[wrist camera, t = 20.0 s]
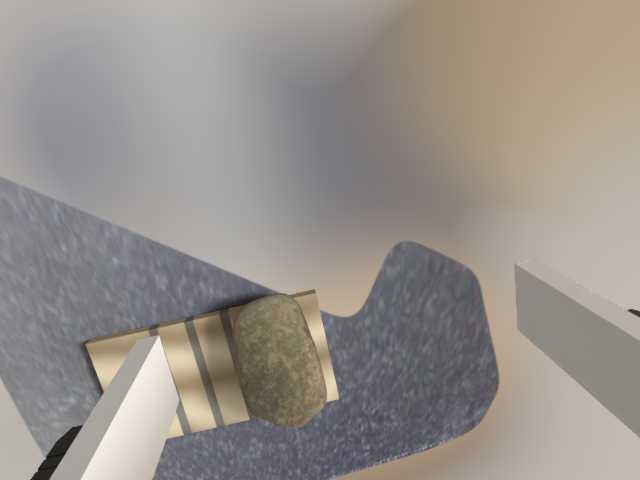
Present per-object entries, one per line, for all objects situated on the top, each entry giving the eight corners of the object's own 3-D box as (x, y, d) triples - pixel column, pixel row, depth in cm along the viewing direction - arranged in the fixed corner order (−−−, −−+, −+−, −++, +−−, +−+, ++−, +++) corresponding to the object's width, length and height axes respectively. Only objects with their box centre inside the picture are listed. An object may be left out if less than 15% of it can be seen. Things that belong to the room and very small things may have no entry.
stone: (263, 428, 51) (238, 450, 41) (243, 309, 54) (215, 304, 45) (335, 413, 51) (326, 432, 41) (310, 294, 54) (297, 285, 44)
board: (90, 339, 49) (85, 344, 48) (314, 289, 50) (315, 293, 49) (129, 441, 53) (125, 448, 52) (337, 393, 54) (339, 399, 53)
